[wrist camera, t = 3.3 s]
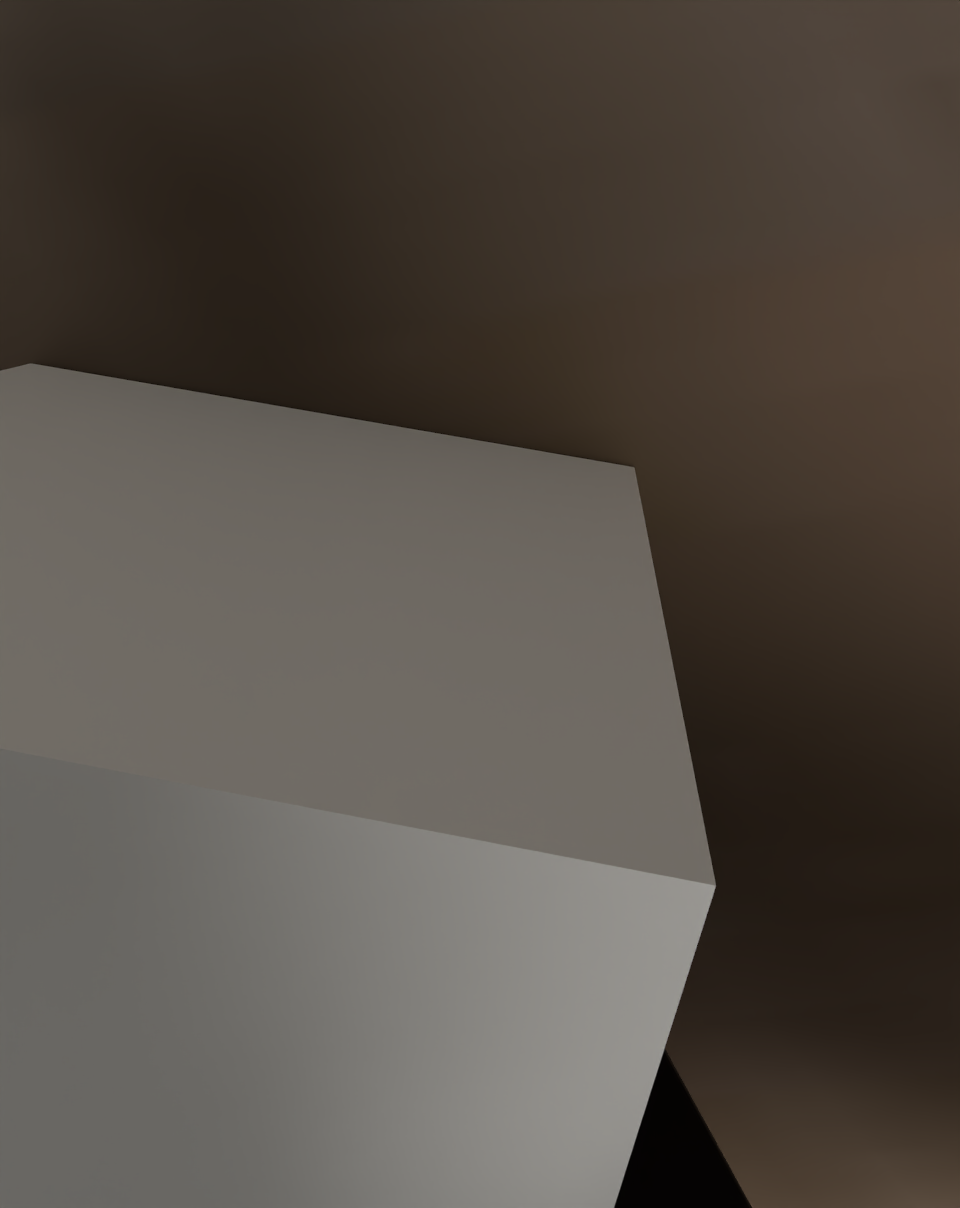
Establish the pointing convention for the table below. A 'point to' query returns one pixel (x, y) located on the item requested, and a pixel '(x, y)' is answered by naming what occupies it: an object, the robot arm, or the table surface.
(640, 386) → the table surface
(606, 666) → the ivory brick
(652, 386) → the table surface
